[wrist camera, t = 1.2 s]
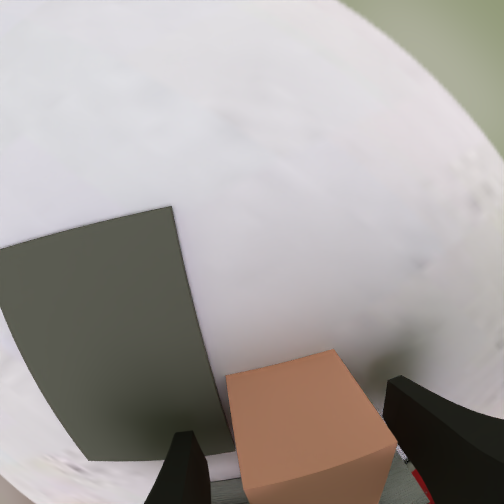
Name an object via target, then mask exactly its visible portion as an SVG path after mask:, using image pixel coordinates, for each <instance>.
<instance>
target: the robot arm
mask: <svg viewBox="0 0 504 504" xmlns="http://www.w3.org/2000/svg"><path fill="white" fill-rule="evenodd" d="M382 416H383V418H384V420H385V422H386V424H387V426H388V428H389V430H390V431H391V433H392V434H393V435H394V437H395V438H396V440H397V441H398V445H399V446H400V448H401V449H402V450H403V452H404V453H405V455H406V456H407V457H408V459H409V460H410V462H411V463H412V464H413V466H414V467H415V469H416V470H417V471H418V473H419V474H420V476H421V478H422V479H423V481H424V483H425V485H426V487H427V488H428V490H429V492H430V494H431V496H432V498H433V501H434V503H435V504H504V420H503V419H499V418H495V417H491V416H487V415H484V414H481V413H478V412H475V411H472V410H470V409H467V408H465V407H462V406H460V405H457V404H455V403H453V402H451V401H449V400H447V399H445V398H443V397H441V396H439V395H437V394H435V393H433V392H431V391H429V390H427V389H426V388H424V387H422V386H420V385H418V384H416V383H415V382H413V381H411V380H409V379H407V378H406V377H404V376H402V375H400V376H398V377H395V378H393V379H390V380H388V382H387V389H386V396H385V403H384V409H383V415H382ZM144 504H211V484H210V477H209V470H208V464H207V460H206V458H205V456H204V454H203V452H202V450H201V448H200V445H199V443H198V441H197V439H196V437H195V434H194V432H193V430H191V431H183V432H176V433H175V434H174V436H173V439H172V442H171V445H170V448H169V450H168V453H167V456H166V458H165V461H164V463H163V466H162V468H161V470H160V472H159V475H158V477H157V479H156V481H155V483H154V485H153V487H152V489H151V491H150V493H149V495H148V497H147V499H146V501H145V502H144Z"/></svg>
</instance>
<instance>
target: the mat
mask: <svg viewBox="0 0 504 504" xmlns="http://www.w3.org/2000/svg"><path fill="white" fill-rule="evenodd" d="M0 307H1V310H2V312H3V315H4V317H5V320H6V322H7V325H8V327H9V329H10V332H11V334H12V336H13V338H14V340H15V343H16V345H17V347H18V349H19V351H20V353H21V355H22V357H23V359H24V361H25V363H26V365H27V367H28V369H29V371H30V373H31V374H32V376H33V378H34V380H35V382H36V383H37V385H38V387H39V389H40V390H41V392H42V394H43V396H44V397H45V399H46V401H47V402H48V404H49V405H50V407H51V409H52V410H53V412H54V413H55V415H56V416H57V418H58V419H59V421H60V422H61V424H62V425H63V427H64V428H65V430H66V431H67V433H68V434H69V435H70V437H71V438H72V440H73V441H74V442H75V444H76V445H77V446H78V448H79V449H80V450H81V452H82V453H83V454H84V455H85V457H86V458H87V459H88V461H151V460H165V458H166V456H167V453H168V450H169V448H170V445H171V442H172V439H173V436H174V434H175V433H176V432H183V431H191V430H193V432H194V434H195V437H196V439H197V441H198V443H199V445H200V448H201V450H202V452H203V454H204V456H207V455H214V454H221V453H227V452H233V451H236V450H235V444H234V441H233V438H232V435H231V432H230V429H229V426H228V423H227V420H226V417H225V414H224V411H223V407H222V404H221V401H220V398H219V395H218V391H217V388H216V385H215V381H214V378H213V374H212V371H211V368H210V364H209V361H208V357H207V354H206V350H205V346H204V343H203V339H202V335H201V332H200V328H199V324H198V320H197V316H196V312H195V308H194V304H193V300H192V296H191V292H190V288H189V284H188V280H187V276H186V271H185V267H184V263H183V258H182V254H181V249H180V245H179V240H178V235H177V231H176V226H175V221H174V216H173V211H172V206H170V207H165V208H160V209H156V210H151V211H146V212H142V213H137V214H133V215H128V216H124V217H120V218H115V219H111V220H107V221H103V222H99V223H95V224H91V225H87V226H83V227H79V228H75V229H71V230H67V231H63V232H59V233H56V234H52V235H48V236H45V237H41V238H37V239H34V240H30V241H27V242H23V243H20V244H17V245H13V246H10V247H7V248H3V249H0Z"/></svg>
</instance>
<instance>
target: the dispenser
mask: <svg viewBox="0 0 504 504" xmlns="http://www.w3.org/2000/svg"><path fill="white" fill-rule="evenodd" d="M210 484H211V504H250V503H249V501H248V498H247V496H246V494H245V492H244V490H243V484H242V479H241V478H238V479H232V480H225V481H218V482H210ZM429 503H430V501H429V499H428V498H427V496H426V495H425V493H424V492H423V490H422V488H421V487H420V485H419V484H418V482H417V481H416V479H415V478H414V476H413V475H412V473H411V472H410V470H409V469H408V467H407V466H406V464H405V463H404V461H403V460H402V458H401V457H400V455H399V454H398V452H397V451H396V450H395V454H394V457H393V461H392V464H391V467H390V471H389V474H388V477H387V480H386V483H385V486H384V489H383V492H382V494H381V497H380V500H379V503H378V504H429Z"/></svg>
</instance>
